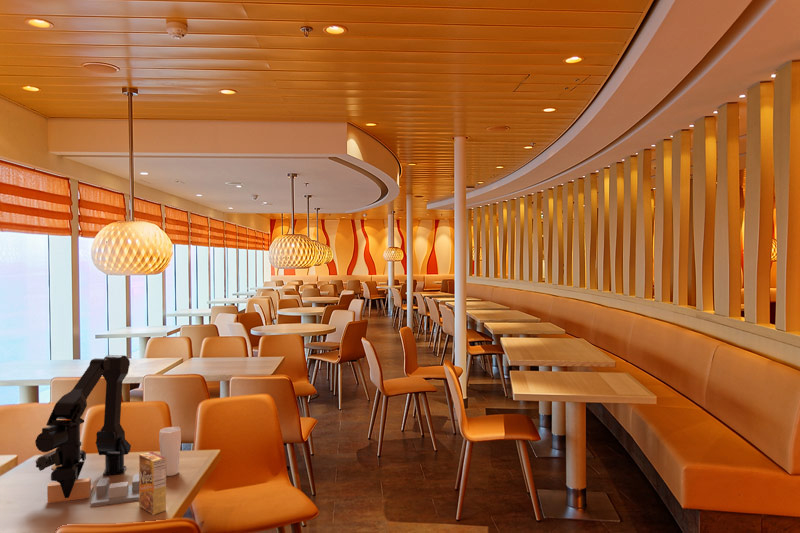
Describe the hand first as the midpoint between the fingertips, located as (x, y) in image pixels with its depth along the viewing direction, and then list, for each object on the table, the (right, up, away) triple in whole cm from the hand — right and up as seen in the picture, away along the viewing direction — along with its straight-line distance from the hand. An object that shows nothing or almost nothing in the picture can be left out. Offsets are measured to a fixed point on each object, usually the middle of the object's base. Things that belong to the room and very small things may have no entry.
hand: (69, 492), depth 173 cm
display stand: (+14, -2, +1) cm, 15 cm away
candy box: (+28, -2, -8) cm, 30 cm away
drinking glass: (+23, -2, +20) cm, 30 cm away
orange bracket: (-1, -2, +2) cm, 3 cm away
